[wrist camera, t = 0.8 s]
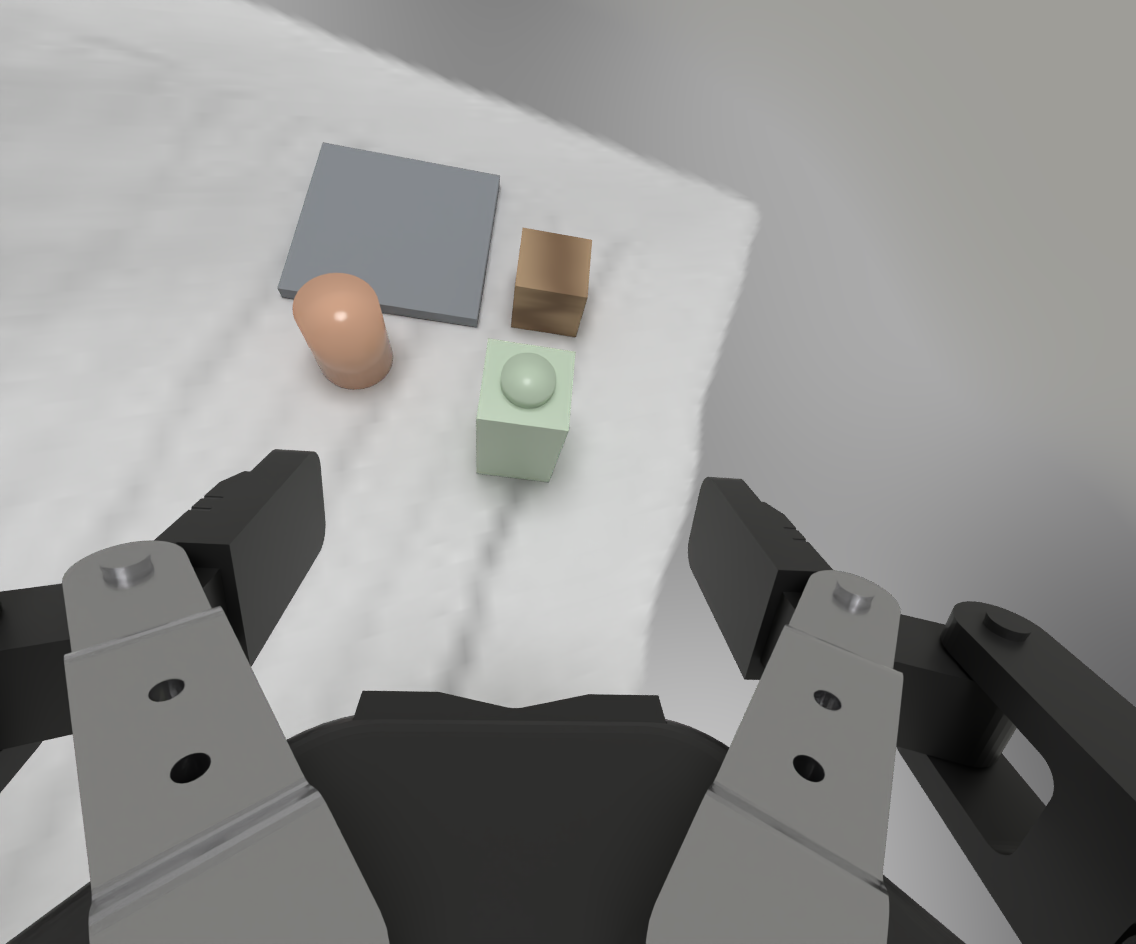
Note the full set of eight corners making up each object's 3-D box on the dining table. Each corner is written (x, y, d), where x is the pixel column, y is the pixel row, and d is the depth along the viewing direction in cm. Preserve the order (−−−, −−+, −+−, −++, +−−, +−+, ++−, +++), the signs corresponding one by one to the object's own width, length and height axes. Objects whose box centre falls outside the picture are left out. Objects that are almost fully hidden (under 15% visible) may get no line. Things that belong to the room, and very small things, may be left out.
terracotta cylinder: (311, 383, 38) (283, 335, 33) (327, 322, 40) (303, 266, 35) (385, 394, 39) (370, 348, 33) (398, 333, 41) (386, 279, 35)
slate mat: (282, 297, 40) (277, 288, 39) (326, 153, 45) (322, 142, 44) (476, 327, 42) (477, 319, 41) (499, 185, 47) (499, 175, 46)
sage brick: (476, 473, 38) (476, 412, 29) (485, 407, 40) (488, 330, 31) (548, 482, 39) (571, 424, 30) (554, 417, 40) (577, 344, 31)
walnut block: (510, 327, 42) (515, 285, 38) (517, 274, 44) (522, 227, 39) (575, 337, 43) (587, 297, 38) (579, 284, 45) (591, 240, 40)
